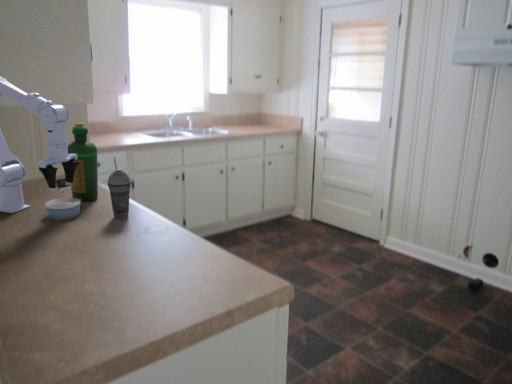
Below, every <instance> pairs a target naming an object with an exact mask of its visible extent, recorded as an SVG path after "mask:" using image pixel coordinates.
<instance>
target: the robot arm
mask: <svg viewBox="0 0 512 384" xmlns="http://www.w3.org/2000/svg"><path fill="white" fill-rule="evenodd" d="M2 95H3V96H5V97H7V98H9V99H12V100H14V101H16V102H19V104H20V103H21V105H22V108H23V109H25V110H26V111H28V112H30V113H31V114H34V115H36V117H39V118H40V120H41V122H42V123H43V125H44V129H45V133H46V135H45V136H46V145H47V153H48V155H47V156H48V157H46V158H44V159H41V160H38V171H40V173H41V174H42V175H43V177H44V179H45V181H46V183H47V186H48V188H49V189H51V188H53V189H54V188H56V179H57V172H58V167H54V166H55V165H58V164H61V165H62V168H63V171H64V178H65V179H66V183H67V184H71V183H73V179H74V174H75V170H76V168H77V166H78V164H79V162H78V161H75V160H77V154H74V153H71V154H68V148H67V146H68V138H67V126H66V122H67V121H68V119H69V115H70V113H69V111H68V109H67V107H65V106H64V105H63V104H62V103H56V104H55V103H53V101H52V100H49V99H48V100H47V99H46V98H44V97H42V96H41V94H40V93H38V92H29V93H27V92H25V91H23V89H20V88H19V87H18V86H15V85H14V84H12V83H11V82H9V81H8V80H7V78H5V77H2V76H0V97H1V96H2ZM25 176H26V168H25V166H24V164H23V163H22V162H21V160H20V158H19V157H18V156H17V155H15V154H13V153H12V152H11V151H10V148H9V146H8V144H7V141H6V138H5V136H4V134H3V131H2V129H1V127H0V212H3V213H9V214H14V213H17V212H19V211H21V210H22V211H23V210H25V209H28V208H31V205H30V204H25V202H24V193H23V186H22V185H23V183H22V182H23V179H24V178H25Z"/></svg>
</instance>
